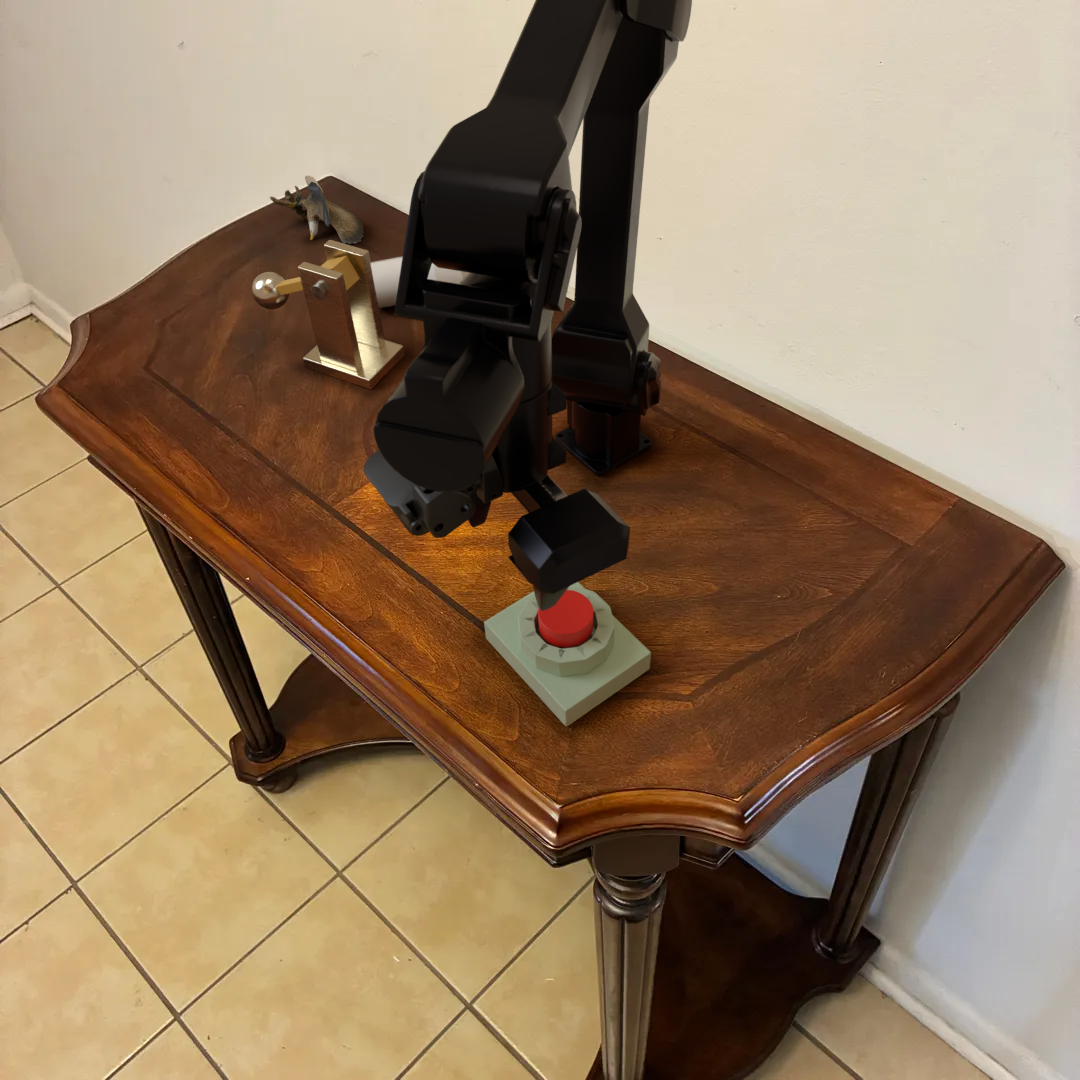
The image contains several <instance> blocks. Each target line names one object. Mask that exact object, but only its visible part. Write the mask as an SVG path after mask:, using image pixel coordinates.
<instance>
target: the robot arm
mask: <svg viewBox="0 0 1080 1080" xmlns="http://www.w3.org/2000/svg"><path fill="white" fill-rule="evenodd" d="M692 5H693V0H534V3H533V4H532V8H531V10H530V12H529V14H528V16H527V19H526V20H525V24H524V25H523V27H522V30H521V32H520V35H519V36H518V39H517V41H516V42H515V43H516V44H515V45H514V48H513V50H512V52H511V55H510V57H509V59H508V61H507V63H506V66H505V68H504V71H503V73H502V75H501V78H500V79H499V81H498V84H497V86H496V88H495V91H494V93H493V95H492V97H491V98H490V100H489V102H488V104H487V105H486V107H485V108H483V109H481V110H479V111H478V112H476V113H474V114H472V115H470V116H468V117H467V118H464V119H463V120H461V121H459V122H457V123H455V124H454V125H453V126H451V128H450V129H449V130H447V132H446V133H445V136H444V137H443V139H442V141H441V142H440V144H439V145H438V147H437V149H436V150H435V151H434V153H433V155H432V156H431V158H430V159H429V161H428V163H427V165H426V167H425V169H424V171H422V172H421V173H419V175H418V177H417V178H416V181H415V183H414V186H413V189H412V194H411V198H410V204H409V212H408V218H407V224H406V230H405V231H406V232H405V237H404V245H403V251H402V256H403V257H402V256H401V257H402V264H401V270H400V277H399V284H398V290H397V297H396V304H395V306H394V315H395V317H397V318H403V319H408V320H413V321H420V322H423V323H422V324H423V331H424V332H423V333H424V344H423V346H422V350H421V352H420V353H419V354H418V356H416V357H415V358H414V359H413V361H412V362H411V363H410V365H408V367H407V369H406V370H405V372H404V376H403V378H402V379H401V380H400V381H399V383H398V384H397V385H396V387H395V389H394V390H393V392H391V394H390V396H389V397H388V399H387V400H386V402H385V403H384V405H383V406H382V407H381V409H380V410H379V412H378V413H377V416H376V420H375V425H374V426H373V437H374V440H375V443H376V446H377V449H378V450H376V452H374V453H373V454H371V455H370V456H369V457H368V458H367V459H366V461H365V463H364V464H363V472H364V475H365V476H366V478H367V479H368V480H369V482H370V483H371V485H372V486H373V487H374V488H375V490H376V491H377V492H378V494H379V495H380V496H381V498H382V499H383V501H384V502H385V503H386V504H387V506H388V507H389V508H390V510H391V511H392V512H393V514H394V515H395V516H396V518H397V519H398V520H399V521H400V523H401V524H402V525H403V526H404V528H405V529H406V531H407V532H408V533H409V534H411V535H413V536H416V537H420V536H424V535H427V534H428V533H430V534H431V535H432V537H433V538H435V539H441V538H445V537H447V536H448V535H450V534H451V533H453V531H455V530H456V529H457V528H459V527H460V526H462V525H463V524H465V523H466V522H467V521H468V524H469V525H470V526H471V527H472V528H477V527H479V526H481V525H483V524H486V521H487V518H488V515H489V512H490V508H491V505H492V501H494V500H497V499H499V498H501V497H502V496H503V495H504V493H505V494H512V496H513V497H514V498H515V499H516V500H517V502H519V504H520V505H521V506H522V507H523V508H524V509H525V510H526V512H528V513H525V514H523V515H521V516H520V517H519V518H518V520H517V521H516V523H515V524H514V525H513V527H512V528H511V529H510V530H509V531H508V533H507V542H508V548H509V550H510V551H509V552H510V553H511V554H510V555H509V556H508V558H507V559H508V560H509V561H510V562H511V563H512V564H513V565H514V566H515V568H516V569H517V570H518V571H519V573H520V574H521V575H522V576H523V577H524V579H525V580H526V581H527V582H528V583H529V584H530V585H531V586H532V588H533V591H534V593H535V597H536V601H537V604H538V607H539V609H540V610H541V611H545V610H547V609H549V608H551V607H553V606H555V605H556V603H557V602H558V601H559V599H560V598H561V597H562V595H563V594H564V593H565V591H566V590H567V589H568V588H569V586H571V585H573V584H575V583H577V582H579V583H580V582H581V581H583V580H585V579H587V578H590V577H591V576H594V575H595V574H597V573H600V572H602V571H604V570H607V569H608V568H610V567H612V566H614V565H616V564H619V563H621V562H622V561H625V560H627V558H628V553H629V548H630V534H631V526H629V524H628V523H627V522H626V521H625V520H624V519H623V518H622V517H621V516H620V515H619V514H618V513H617V512H616V511H615V510H614V509H613V507H611V506H610V505H609V504H608V503H607V502H606V501H605V500H604V499H603V498H602V497H601V496H600V495H599V494H598V493H596V492H594V491H592V490H590V489H588V488H583V489H580V490H578V491H575V492H574V493H571V494H567V493H566V492H565V491H564V490H563V489H562V488H561V486H559V484H557V482H555V480H554V479H553V478H552V477H551V476H550V475H549V473H548V472H549V471H550V470H552V469H553V470H554V469H555V468H557V467H560V466H562V465H564V464H566V463H567V453H569V454H570V455H572V456H573V457H574V458H575V459H576V460H578V461H579V462H580V464H582V465H583V466H584V467H585V468H587V469H588V470H589V471H590V472H591V473H593V475H595V476H597V477H603V476H605V475H607V474H609V473H610V472H612V471H613V470H615V469H616V468H618V467H620V466H622V465H623V464H625V463H627V462H628V461H629V462H630V460H632V459H634V458H635V457H637V456H639V455H640V454H642V453H644V452H646V451H647V450H649V449H651V448H652V446H653V440H652V439H651V438H650V437H649V436H647V435H646V434H645V433H644V432H642V431H641V423H642V416H643V417H646V416H647V413H648V410H649V409H650V408H651V407H653V406H655V405H658V404H659V403H660V400H661V395H662V393H661V392H662V380H661V371H660V369H661V361H662V360H661V359H660V358H659V357H658V356H657V355H656V354H655V353H654V352H650V351H649V341H650V340H649V339H650V323H649V321H648V319H647V317H646V315H645V313H644V312H643V310H642V308H641V306H640V304H639V302H638V300H637V299H636V297H635V295H634V282H635V270H636V260H637V259H636V257H637V247H638V235H639V227H640V226H639V225H640V213H641V212H640V211H641V203H642V191H643V179H644V167H645V156H646V146H647V135H648V134H647V132H648V122H649V113H650V112H649V111H650V102H651V98H652V96H653V95H654V94H655V91H656V90H657V89H658V87H659V86H660V84H661V83H662V81H664V78H665V77H666V76H667V74H668V73H669V71H670V69H671V68H672V66H673V65H674V63H675V61H676V60H677V57H678V52H679V45H680V42H684V41H685V39H686V37H687V33H688V30H689V25H690V20H691V13H692V7H693V6H692ZM581 126H582V137H581V138H582V139H581V159H580V177H579V178H580V181H579V200H578V201H579V203H578V211H577V198H576V194H575V192H574V190H573V184H572V176H571V175H572V174H571V167H570V158H569V157H570V154H571V151H572V149H573V146H574V144H575V141H576V138H577V136H578V133H579V130H580V129H581ZM432 263H433V264H434V265H435V266H437V267H438V268H444V269H450V270H456V271H463V272H469V273H468V274H467V275H466V276H465V278H464V279H463V280H462V281H461V282H460V283H459V284H455V283H449V282H443V281H437V280H431V279H427V278H428V275H429V272H430V268H431V265H432ZM574 264H575V282H574V299H573V300H574V302H573V303H572V305H570V307H569V309H568V310H567V311H566V313H565V314H564V316H563V317H562V319H561V320H560V321H559V323H558V325H557V326H556V328H555V329H554V330H553V329H552V327H553V326H552V323H553V322H552V321H553V316H554V312H559V313H563V312H564V308H565V303H566V298H567V294H568V290H569V285H570V281H571V276H572V273H573V268H574ZM552 331H553V332H552ZM565 410H566V422H567V425H568V427H566V428H564V429H563V430H560V431H558V432H557V433H556V434H555V437H554V436H553V415H556V414H558V413H561V412H563V411H565Z"/></svg>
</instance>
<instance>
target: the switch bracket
mask: <svg viewBox="0 0 1080 1080" xmlns="http://www.w3.org/2000/svg"><path fill="white" fill-rule="evenodd" d="M323 249H324V253H325V257H326V261H327V260H332V259H336V258H340V257H344V256H347V257H348V259H349V260H350V262H351V264H352V266H353V267H354V269H355V271H356V272H357V274H358V276H359V278H360V279H359V280H358V281H357V282H356V283H354V284H353V285H352V286H351V287H350V288H349V289H348V290H346V285H345V280H344V276H343V273H340V272H337V271H334V270H330V269H327V268H324V267H320V266H321V265H317V264H313V263H310V262H307V261H303V262H302V263H301V264H299V265H297V270H298V275H299V277H300V279H301V283H302V287H303V290H302V291H303V295H304V299H305V304H306V306H307V310H308V311H307V312H308V315H309V319H310V322H311V326H312V331H313V335H314V338H315V341H316V342H315V343H316V345H315V346H314V347H313V348H311V350H310V351H309V352H308V353H307V354H305V356H303V357H302V359H303V363H304V366H305V368H307V369H310V370H313V371H315V372H318V373H321V374H324V375H327V376H330V377H333V378H336V379H339V380H342V381H345V382H348V383H351V384H353V385H356V386H360V387H363V388H365V389H369V390H373V389H374V388H375V387H376V386H377V384H378V383H379V382H380V381H381V380H382V379H383V378H384V377H385V376H386V375H387V374H388V373H389V372H390V371H391V370H392V369H393V368H394V367H395V365H397V364H398V362H400V361H401V360H402V358H403V357H404V356H405V349H404V345H403V344H399V343H397V342H393V341H390V340H387V339H385V334H384V329H383V323H382V317H381V312H380V308H379V306H378V301H377V296H376V290H375V285H374V279H373V274H372V269H371V263H370V262H371V258H370V252H369V250H367V249H364V248H360V247H357V246H353V245H351V244H348V243H343V242H339V241H336V240H332V239H329V240H327V241H326V242H325V243H324V244H323Z"/></svg>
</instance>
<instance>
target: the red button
mask: <svg viewBox="0 0 1080 1080" xmlns="http://www.w3.org/2000/svg"><path fill="white" fill-rule="evenodd" d="M593 615H594V611H593V606H592V604H591V602H590V601H589V599H588V598H587V597H585V596H584V595H583V594H581V593H579V592H576V591H572V590H566V591H565V593H564V594H563V595H562V597H561V598H560V599H559V601H558V602H557V603H556V605H555V606H553V607H551V608H549V609H547V610H545V611H541V610H540V609H539V608H538V622H539V631H540V633H541V635H542V637H543V638H544V639H545V640H546V641H547V642H549V643H550V644H552V645H554V646H557V647H563V648H569V647H574V646H578V645H580V644H582V643H583V642H585V641H586V640H587V639H588V638H589V636H590V635H591V633H592V631H593Z"/></svg>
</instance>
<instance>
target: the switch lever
mask: <svg viewBox="0 0 1080 1080" xmlns="http://www.w3.org/2000/svg"><path fill="white" fill-rule="evenodd" d="M319 266H320V267H324V268H327V269H330V270H334V271H337V272H340V273H343V276H344V280H345V285H346V290H348V289H349V288H350V287H351V286H352V285H353V284H354V283H356V282H357V281H358V280H359V279H360V278H359V276H358V274H357V272H356V271H355V269H354V267H353V266H352V264H351V262H350V260H349V259H348V257H347V256H344V257H340V258H336V259H332V260H327V259H326V261H325V262H324V263H322V264H321V265H319ZM302 291H303V287H302V283H301V279H300V276H298V277H294V278H288V279H285V278H284V277H283V276H282V275H281V274H280V273H277V272H274V271H265V272H262V273H259V275H257V276H256V277H255V278H254V280H253V282H252V284H251V295H252V298H253V299H254V302H256V303H257V305H259V306H260V307H261V308H264V309H267V310H277V309H279V308H282V307H283V306H284V305H285V304H286V303H287V301H288V300H289V297H290V294H293V293H298V292H302Z"/></svg>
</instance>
